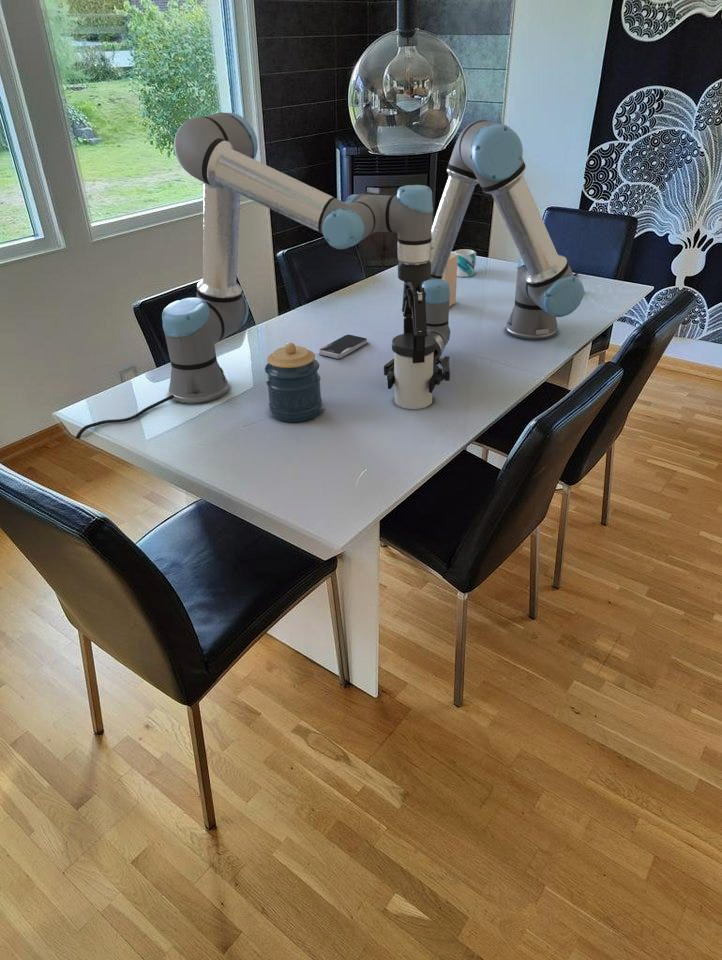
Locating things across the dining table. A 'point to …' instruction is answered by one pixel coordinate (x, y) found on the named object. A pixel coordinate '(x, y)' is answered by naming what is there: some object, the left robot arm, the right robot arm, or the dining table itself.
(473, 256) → the mug
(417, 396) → the jar
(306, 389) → the canister
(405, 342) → the lid
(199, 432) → the dining table surface
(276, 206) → the left robot arm
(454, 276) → the soap dispenser
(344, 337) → the smartphone
